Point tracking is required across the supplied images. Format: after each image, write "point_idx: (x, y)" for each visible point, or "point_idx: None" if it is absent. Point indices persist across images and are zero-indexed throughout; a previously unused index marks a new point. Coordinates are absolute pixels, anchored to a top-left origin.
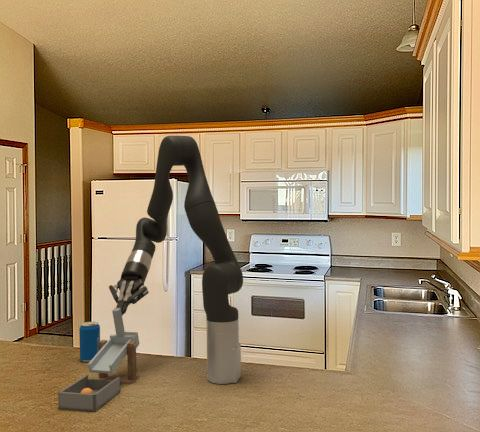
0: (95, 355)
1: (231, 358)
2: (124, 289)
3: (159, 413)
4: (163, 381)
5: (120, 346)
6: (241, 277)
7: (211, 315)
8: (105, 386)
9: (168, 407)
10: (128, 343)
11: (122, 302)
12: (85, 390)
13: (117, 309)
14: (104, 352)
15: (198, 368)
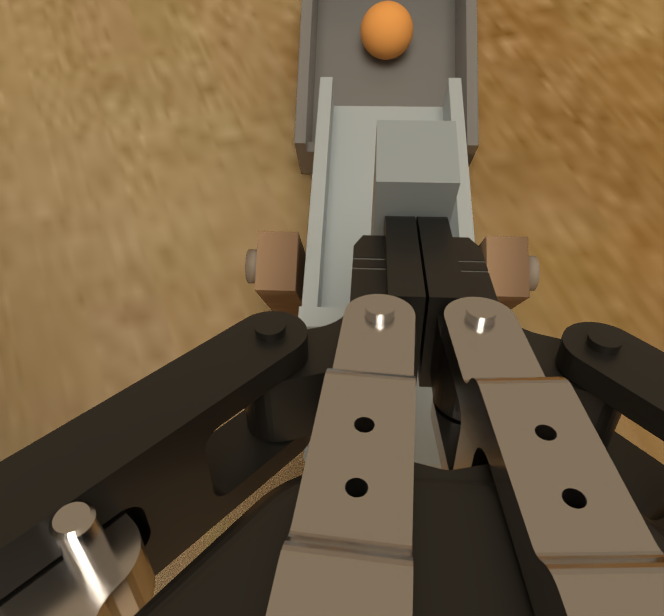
0: (465, 141)
1: None
2: (497, 461)
3: (75, 16)
4: (151, 323)
5: None
6: None
7: None
8: (307, 28)
9: (56, 66)
10: (288, 234)
11: (411, 285)
12: (384, 2)
13: (401, 147)
14: (451, 228)
15: None
